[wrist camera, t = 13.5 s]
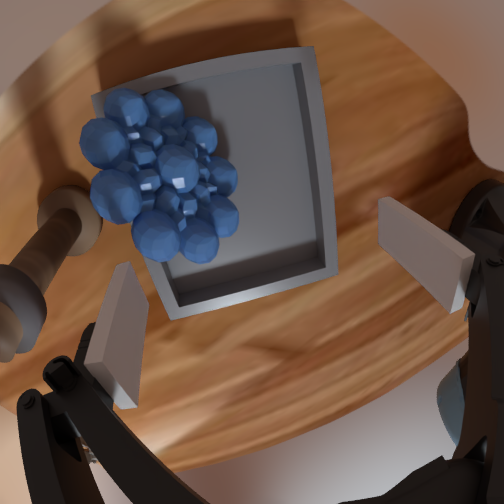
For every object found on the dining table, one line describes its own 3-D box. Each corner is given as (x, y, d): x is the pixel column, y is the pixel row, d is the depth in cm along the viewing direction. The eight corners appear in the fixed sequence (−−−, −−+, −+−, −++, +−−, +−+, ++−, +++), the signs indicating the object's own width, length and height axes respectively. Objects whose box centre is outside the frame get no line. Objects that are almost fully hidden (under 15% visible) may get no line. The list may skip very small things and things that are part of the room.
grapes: (192, 135, 26) (66, 105, 16) (250, 104, 22) (108, 47, 12) (202, 266, 25) (58, 276, 16) (268, 257, 21) (96, 267, 12)
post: (89, 175, 22) (-8, 277, 9) (112, 238, 25) (61, 377, 12) (34, 198, 22) (-68, 302, 8) (59, 255, 25) (-8, 383, 11)
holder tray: (299, 51, 21) (313, 46, 18) (325, 258, 31) (338, 274, 28) (102, 95, 19) (90, 95, 17) (171, 300, 29) (170, 320, 27)
